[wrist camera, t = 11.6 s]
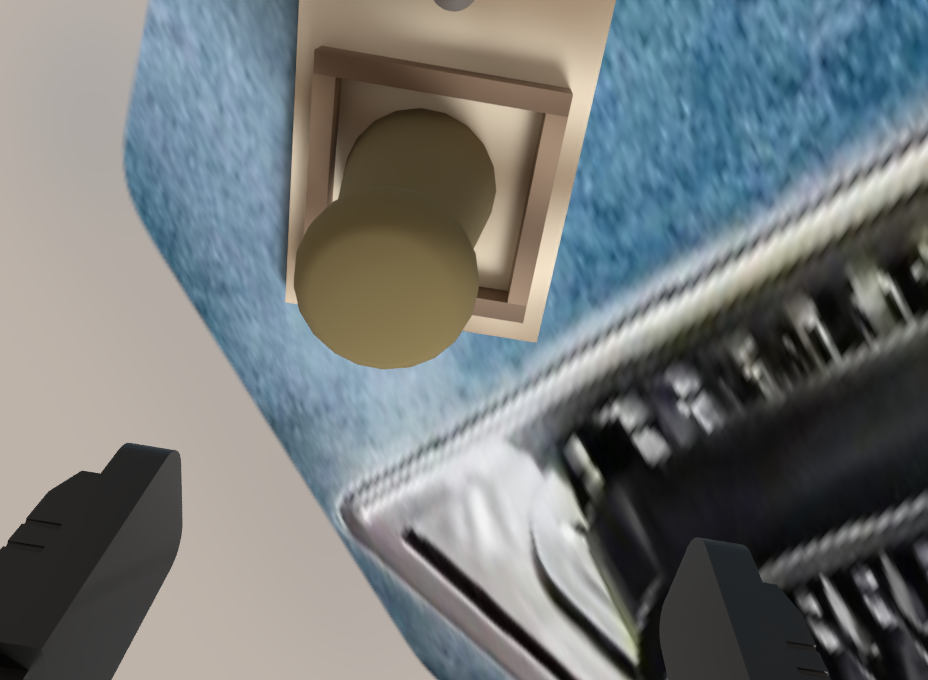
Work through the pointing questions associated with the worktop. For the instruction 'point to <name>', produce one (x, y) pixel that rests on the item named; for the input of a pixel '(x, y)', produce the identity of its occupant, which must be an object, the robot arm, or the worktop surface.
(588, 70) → the socket plate
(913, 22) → the worktop surface
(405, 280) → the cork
